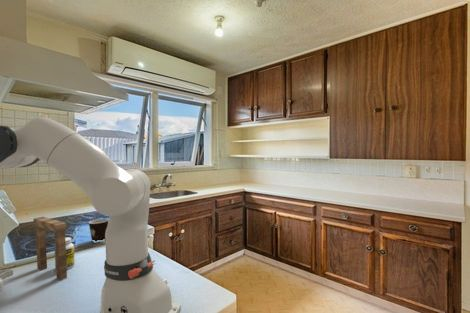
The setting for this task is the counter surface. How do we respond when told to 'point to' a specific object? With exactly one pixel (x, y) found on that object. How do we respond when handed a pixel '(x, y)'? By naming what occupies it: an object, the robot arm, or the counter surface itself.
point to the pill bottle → (68, 253)
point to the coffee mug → (98, 228)
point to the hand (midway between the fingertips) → (11, 271)
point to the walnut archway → (60, 244)
